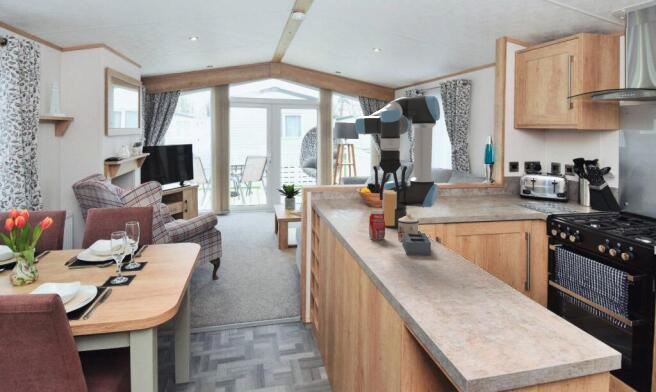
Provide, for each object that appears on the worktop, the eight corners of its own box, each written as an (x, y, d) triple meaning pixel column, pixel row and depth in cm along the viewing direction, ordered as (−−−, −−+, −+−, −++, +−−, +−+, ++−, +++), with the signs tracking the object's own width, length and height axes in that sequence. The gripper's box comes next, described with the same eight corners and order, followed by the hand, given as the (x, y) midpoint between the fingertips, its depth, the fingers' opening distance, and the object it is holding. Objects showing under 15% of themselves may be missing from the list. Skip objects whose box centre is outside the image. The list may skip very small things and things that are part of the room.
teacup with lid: (394, 238, 198) (395, 212, 197) (413, 237, 200) (414, 211, 199) (404, 244, 187) (405, 217, 185) (424, 243, 188) (425, 216, 187)
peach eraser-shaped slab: (384, 225, 171) (385, 194, 170) (383, 219, 183) (383, 190, 182) (395, 226, 171) (395, 194, 169) (393, 219, 183) (393, 190, 181)
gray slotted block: (406, 255, 169) (406, 242, 169) (402, 244, 186) (402, 232, 186) (430, 255, 169) (430, 242, 168) (424, 244, 186) (424, 233, 185)
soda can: (374, 236, 201) (375, 210, 200) (387, 238, 197) (388, 212, 195) (365, 239, 196) (366, 212, 194) (379, 241, 192) (379, 214, 190)
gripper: (368, 150, 170) (368, 209, 173) (413, 149, 169) (411, 210, 172) (368, 149, 177) (367, 206, 181) (411, 149, 176) (409, 206, 179)
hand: (389, 208), depth 176 cm, fingers closed on peach eraser-shaped slab, 4 cm apart
